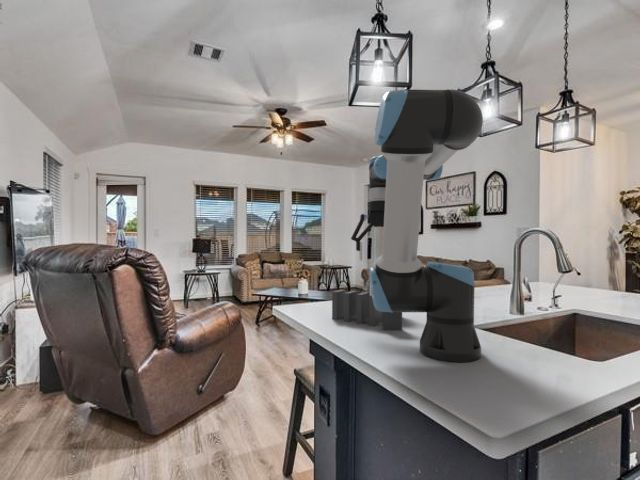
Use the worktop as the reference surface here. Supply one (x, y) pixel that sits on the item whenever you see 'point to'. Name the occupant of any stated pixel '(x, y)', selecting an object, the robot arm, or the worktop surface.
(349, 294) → the domino
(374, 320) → the domino
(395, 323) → the domino
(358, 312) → the domino
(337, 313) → the domino
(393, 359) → the worktop surface
